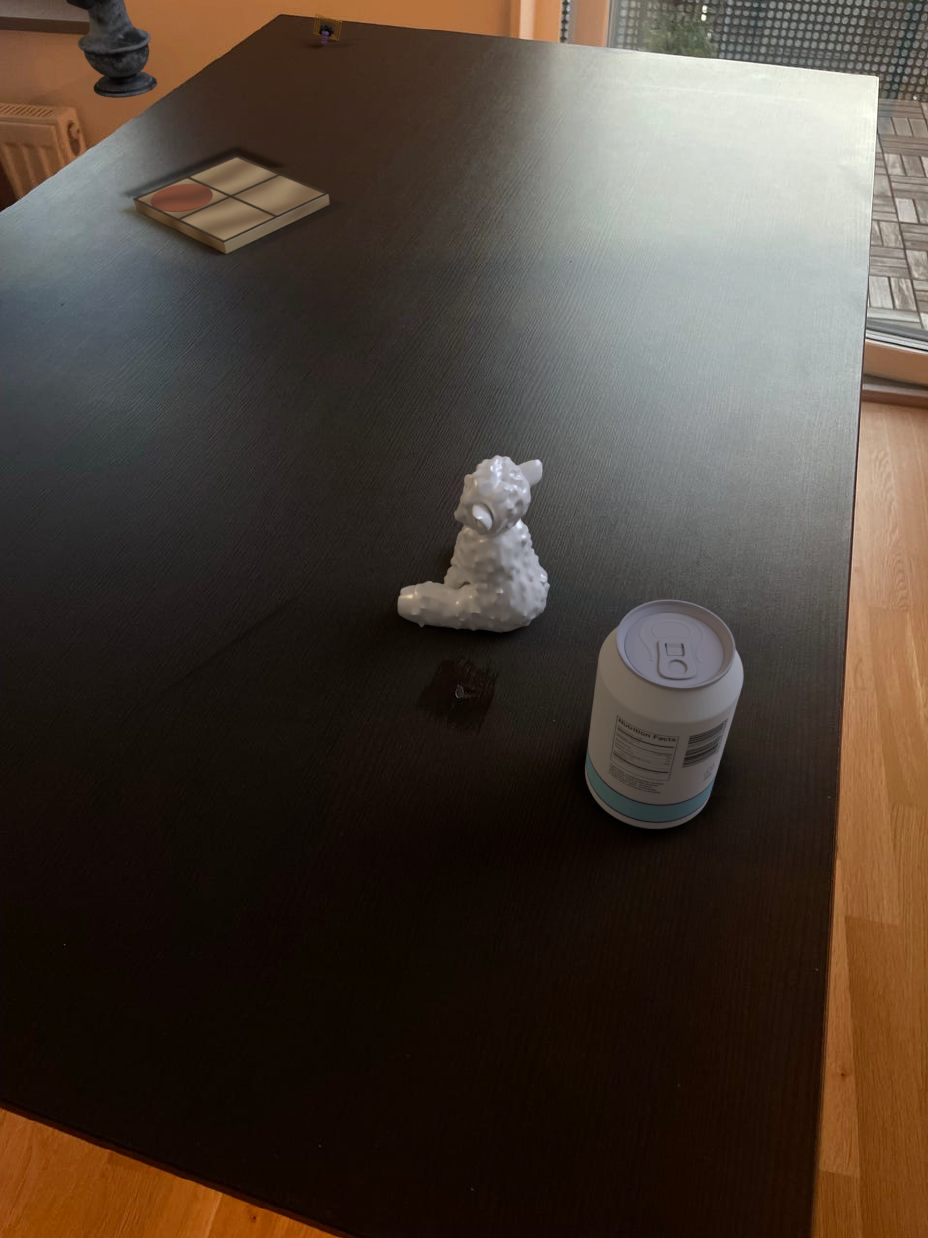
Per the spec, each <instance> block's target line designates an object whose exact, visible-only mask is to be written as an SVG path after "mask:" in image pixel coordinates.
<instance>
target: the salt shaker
mask: <svg viewBox="0 0 928 1238" xmlns="http://www.w3.org/2000/svg"><path fill="white" fill-rule="evenodd" d="M93 2H94V6H93V8H92V9H88V10H86V11H87V14H88V21H89V31H88V32H87V34H84V35H83V36H81V37H80V38H79V40H78V41H77V48H79V49H80V50H81V51H83V54H84V58H85V59H86V61H87V62H88V64H89V65H90V67H91V68H92V69H94V71H96V72H97V73H99V74H100V75H102V77H100V78H99V79H98V81H96V82H95V83H94V84H93V92H94V93H95V94H96V95H99V96H101V97H105V98H110V99H111V98H112V99H120V98H121V99H123V98H131V97H136V96H140V95H143V94H146V93H149V92H151V91H153V90H154V89H155V88H156V87H157V86H158V80H157V79H156V77H154V76H153V75H150V74H149V73H147V72H146V71H143V70H144V68H145V67H146V65H147V64H148V61H149V59H150V58H149V57H150V47H149V43H150V42H151V39H152V38H151V34H150V32H148V31H147V30H144V29H141V28H137V27H135V26H134V25H133V22H132V21H131V18H130V16H129V14H128V11H127V7H126V3H125V0H93Z"/></svg>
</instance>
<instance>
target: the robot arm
mask: <svg viewBox="0 0 928 1238" xmlns="http://www.w3.org/2000/svg"><path fill="white" fill-rule="evenodd" d="M65 1H66V3H67V4H68V5H71V6H74V7H76V8H79V9H81V10H83V11H87V10H88V9H92V8H93V6H94V2H93V0H65Z"/></svg>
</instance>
